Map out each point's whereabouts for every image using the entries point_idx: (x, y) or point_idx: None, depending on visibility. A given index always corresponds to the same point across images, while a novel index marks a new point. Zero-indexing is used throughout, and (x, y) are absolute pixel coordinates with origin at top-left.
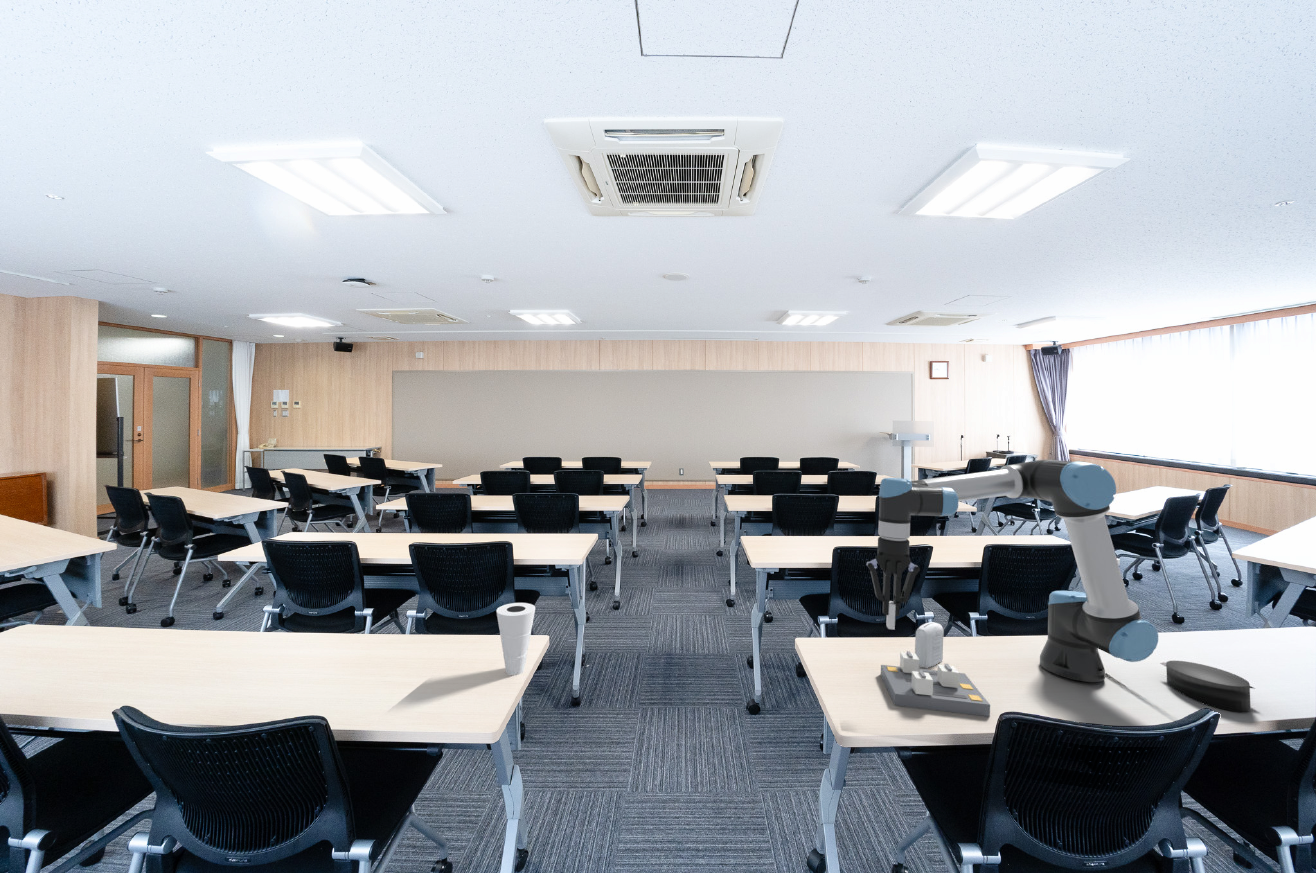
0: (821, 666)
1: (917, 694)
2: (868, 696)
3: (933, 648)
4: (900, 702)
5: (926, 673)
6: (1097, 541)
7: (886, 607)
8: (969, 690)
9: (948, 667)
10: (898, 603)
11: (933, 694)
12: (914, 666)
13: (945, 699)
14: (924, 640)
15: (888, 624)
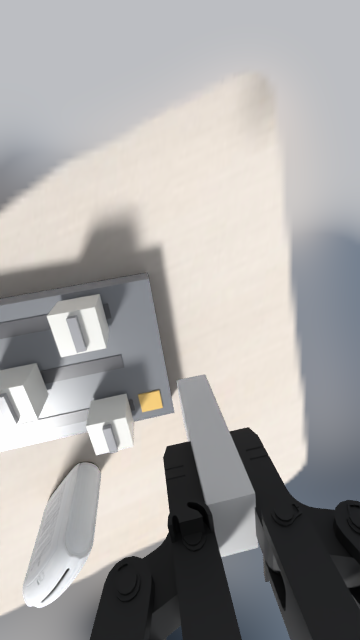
0: (286, 380)
1: None
2: (201, 290)
3: (55, 515)
4: (135, 276)
5: (66, 350)
6: None
7: (257, 469)
8: None
9: (4, 405)
10: (188, 514)
11: None
12: (100, 410)
13: (27, 301)
14: (72, 524)
15: (210, 390)
